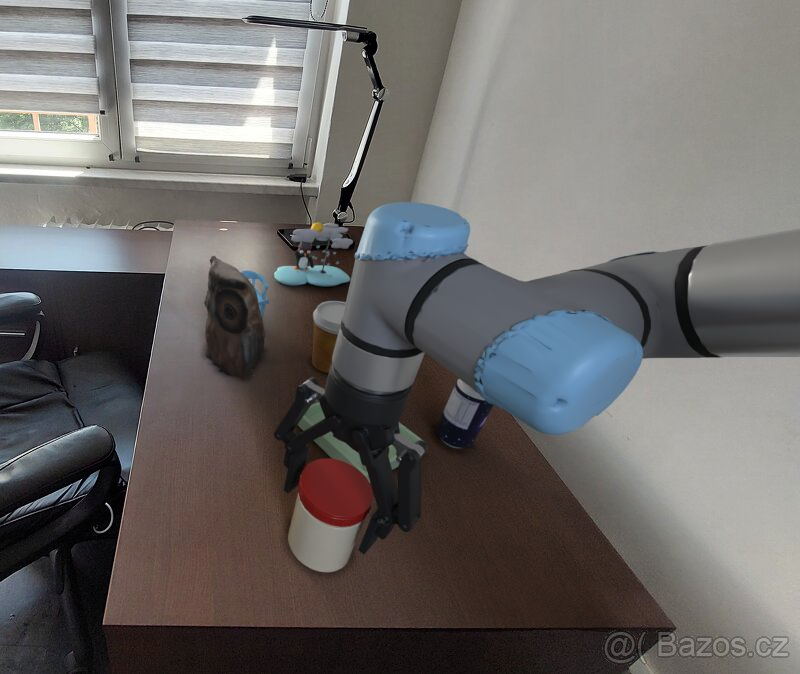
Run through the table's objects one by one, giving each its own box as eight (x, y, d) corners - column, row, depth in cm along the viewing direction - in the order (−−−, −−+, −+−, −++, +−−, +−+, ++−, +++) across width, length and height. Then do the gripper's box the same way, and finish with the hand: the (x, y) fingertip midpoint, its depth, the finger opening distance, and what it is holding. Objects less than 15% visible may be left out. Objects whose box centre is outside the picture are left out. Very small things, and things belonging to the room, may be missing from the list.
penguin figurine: (276, 288, 117) (284, 232, 108) (270, 270, 126) (277, 216, 117) (353, 290, 117) (367, 234, 109) (342, 271, 126) (354, 218, 118)
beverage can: (473, 456, 72) (504, 399, 65) (434, 445, 74) (460, 388, 67) (469, 431, 76) (498, 375, 70) (433, 422, 78) (457, 367, 71)
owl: (247, 385, 85) (258, 289, 73) (185, 367, 89) (187, 274, 77) (266, 349, 94) (278, 260, 83) (210, 334, 98) (214, 247, 87)
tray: (421, 453, 72) (426, 442, 71) (361, 487, 66) (365, 476, 65) (350, 397, 83) (353, 386, 81) (294, 421, 77) (296, 411, 76)
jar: (364, 553, 58) (385, 501, 52) (316, 584, 54) (334, 532, 49) (320, 505, 64) (335, 454, 58) (275, 531, 60) (286, 479, 54)
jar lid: (284, 497, 53) (286, 487, 52) (319, 457, 59) (321, 447, 58) (350, 541, 49) (353, 532, 48) (381, 493, 54) (385, 483, 53)
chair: (239, 336, 98) (243, 287, 91) (222, 318, 104) (225, 270, 97) (270, 329, 101) (276, 281, 94) (251, 311, 107) (256, 264, 100)
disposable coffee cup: (362, 368, 90) (377, 316, 83) (329, 385, 85) (342, 331, 79) (326, 345, 96) (337, 295, 90) (293, 359, 92) (303, 307, 85)
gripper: (515, 416, 39) (432, 561, 51) (299, 310, 52) (275, 445, 65) (481, 462, 34) (399, 608, 47) (255, 334, 48) (239, 473, 60)
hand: (327, 514), depth 56 cm, fingers open, 10 cm apart
